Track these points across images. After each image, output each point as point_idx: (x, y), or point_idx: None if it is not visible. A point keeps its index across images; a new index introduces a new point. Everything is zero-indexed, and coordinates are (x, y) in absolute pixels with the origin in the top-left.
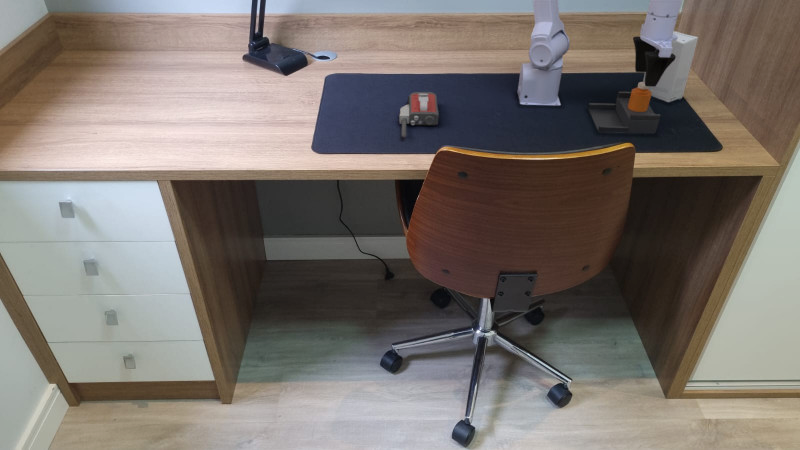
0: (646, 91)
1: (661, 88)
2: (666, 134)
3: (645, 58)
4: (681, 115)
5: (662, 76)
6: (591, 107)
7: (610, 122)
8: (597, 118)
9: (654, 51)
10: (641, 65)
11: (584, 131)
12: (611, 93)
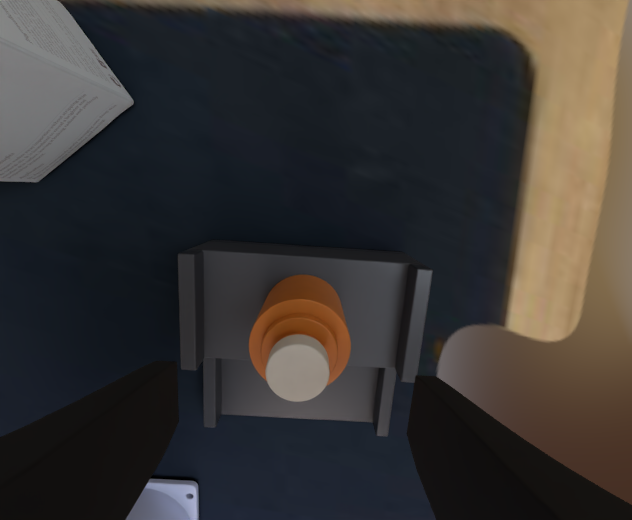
0: (326, 342)
1: (60, 119)
2: (393, 206)
3: (101, 478)
4: (238, 84)
5: None
6: (218, 411)
7: None
8: (291, 405)
9: (7, 493)
10: (149, 437)
11: (360, 446)
12: (58, 295)
